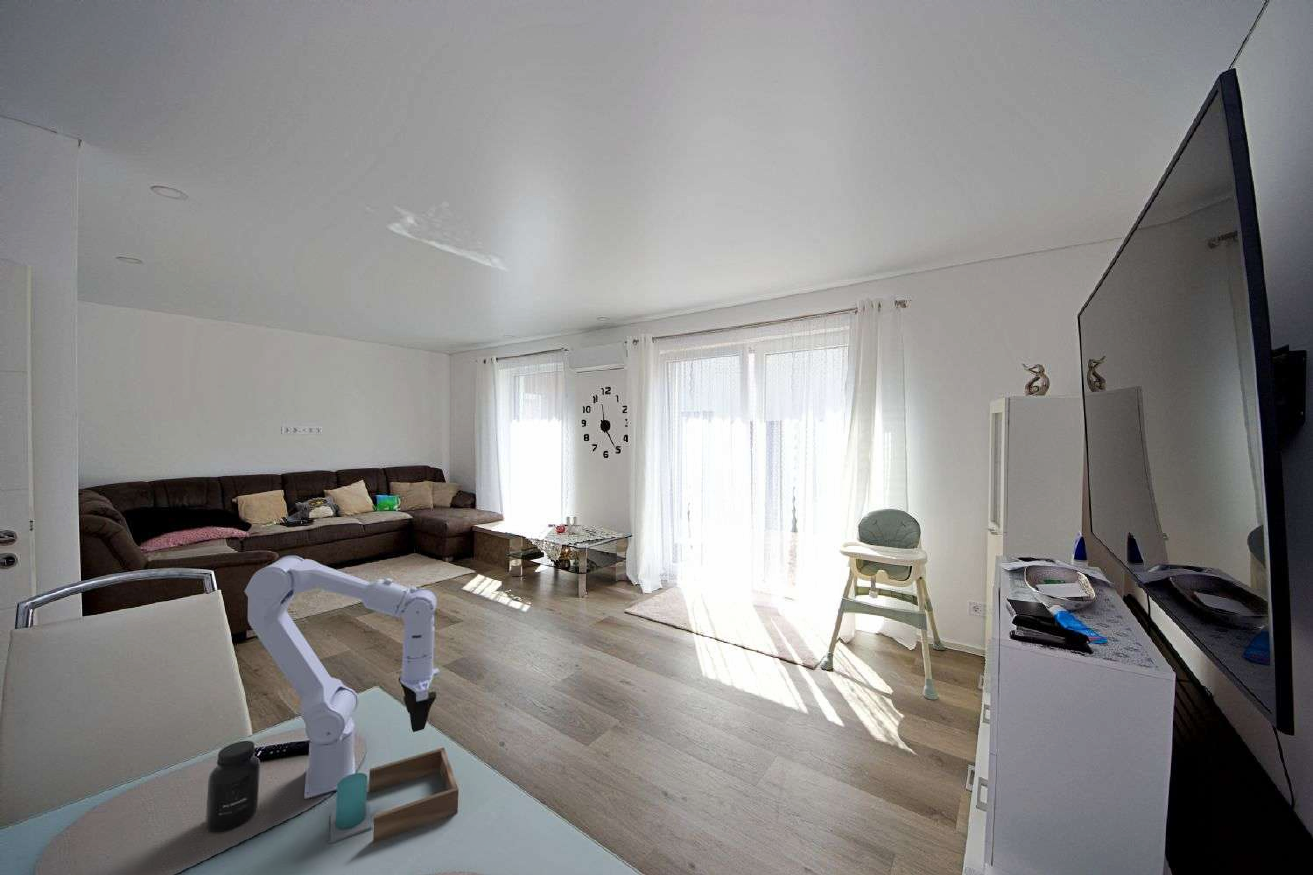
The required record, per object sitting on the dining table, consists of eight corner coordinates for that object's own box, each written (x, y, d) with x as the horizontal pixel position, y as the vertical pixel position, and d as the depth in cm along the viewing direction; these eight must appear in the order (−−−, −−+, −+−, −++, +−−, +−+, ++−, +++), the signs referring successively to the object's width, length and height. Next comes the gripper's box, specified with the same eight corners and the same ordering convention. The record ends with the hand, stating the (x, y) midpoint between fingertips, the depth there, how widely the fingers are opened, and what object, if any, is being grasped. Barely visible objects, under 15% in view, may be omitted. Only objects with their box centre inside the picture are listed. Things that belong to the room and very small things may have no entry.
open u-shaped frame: (368, 790, 91) (369, 769, 91) (443, 767, 98) (444, 747, 99) (373, 842, 80) (374, 818, 80) (457, 812, 87) (458, 789, 87)
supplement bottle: (227, 838, 80) (230, 764, 80) (194, 830, 81) (197, 757, 81) (268, 808, 86) (271, 739, 87) (237, 801, 88) (240, 734, 88)
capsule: (335, 816, 84) (337, 778, 85) (365, 806, 87) (366, 769, 87) (335, 833, 81) (337, 794, 81) (366, 822, 83) (367, 784, 83)
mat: (330, 815, 85) (330, 812, 85) (369, 802, 88) (369, 800, 88) (330, 843, 79) (330, 840, 79) (371, 828, 83) (371, 826, 83)
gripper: (446, 662, 95) (443, 732, 95) (433, 636, 107) (431, 698, 107) (405, 670, 91) (402, 743, 91) (397, 642, 103) (395, 707, 103)
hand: (415, 720), depth 98 cm, fingers open, 7 cm apart
